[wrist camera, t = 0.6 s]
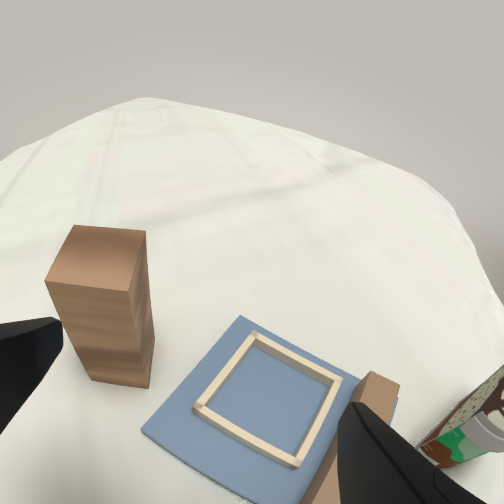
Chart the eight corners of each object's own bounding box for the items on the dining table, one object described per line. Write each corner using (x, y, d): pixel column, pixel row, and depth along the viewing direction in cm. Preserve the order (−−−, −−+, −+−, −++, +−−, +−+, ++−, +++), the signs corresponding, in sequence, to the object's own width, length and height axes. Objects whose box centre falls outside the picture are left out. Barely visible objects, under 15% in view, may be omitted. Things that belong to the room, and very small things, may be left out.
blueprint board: (337, 537, 15) (362, 537, 12) (142, 432, 20) (134, 416, 17) (393, 402, 25) (416, 382, 22) (238, 321, 30) (245, 293, 27)
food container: (431, 505, 16) (517, 473, 10) (399, 460, 20) (478, 415, 14) (491, 431, 22) (556, 384, 15) (465, 395, 26) (525, 341, 19)
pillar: (148, 388, 22) (128, 291, 15) (91, 380, 22) (44, 280, 14) (154, 338, 26) (145, 230, 19) (102, 332, 25) (73, 224, 18)
